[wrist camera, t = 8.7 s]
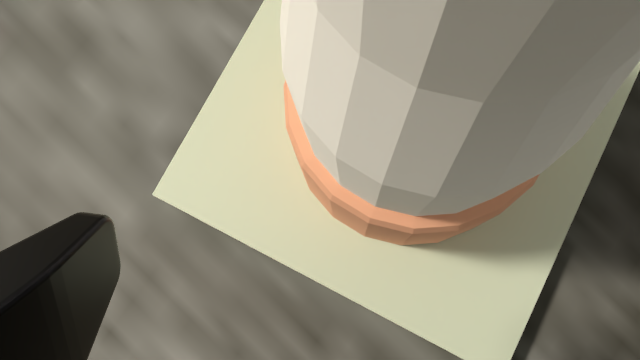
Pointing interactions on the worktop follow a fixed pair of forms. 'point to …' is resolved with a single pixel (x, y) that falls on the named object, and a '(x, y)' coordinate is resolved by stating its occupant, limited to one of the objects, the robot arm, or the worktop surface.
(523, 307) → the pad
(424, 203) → the pepper shaker
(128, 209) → the worktop surface
